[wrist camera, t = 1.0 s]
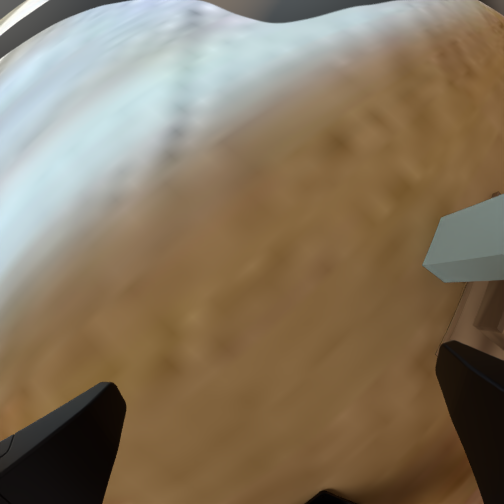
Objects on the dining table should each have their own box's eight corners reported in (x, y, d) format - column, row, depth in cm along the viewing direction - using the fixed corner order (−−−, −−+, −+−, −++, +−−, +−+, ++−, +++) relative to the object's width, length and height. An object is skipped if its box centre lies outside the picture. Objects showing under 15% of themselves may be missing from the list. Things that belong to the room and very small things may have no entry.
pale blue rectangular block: (461, 235, 23) (538, 214, 13) (444, 282, 22) (526, 278, 12) (440, 217, 23) (517, 188, 13) (422, 265, 23) (504, 253, 13)
